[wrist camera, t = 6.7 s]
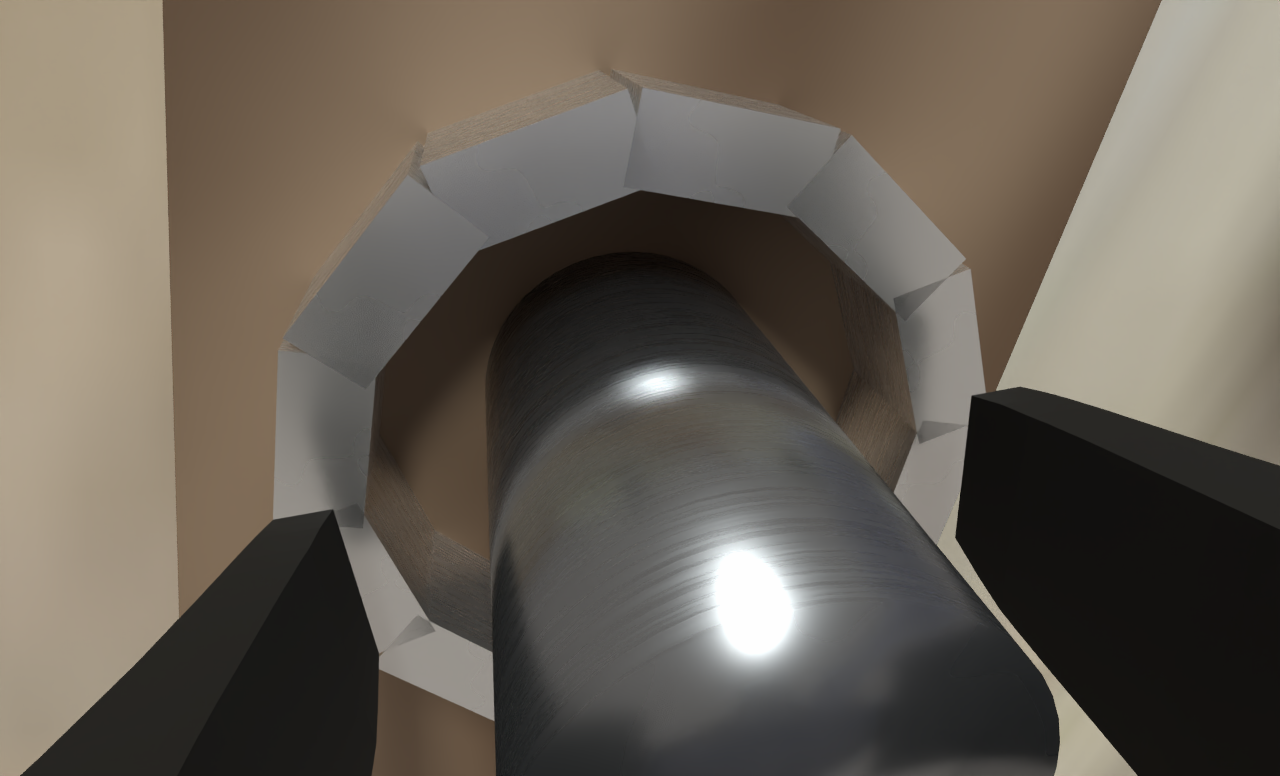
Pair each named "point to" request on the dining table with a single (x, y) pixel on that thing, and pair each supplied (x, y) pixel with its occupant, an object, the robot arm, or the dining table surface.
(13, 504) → the dining table surface
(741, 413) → the cylinder
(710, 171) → the collar board
